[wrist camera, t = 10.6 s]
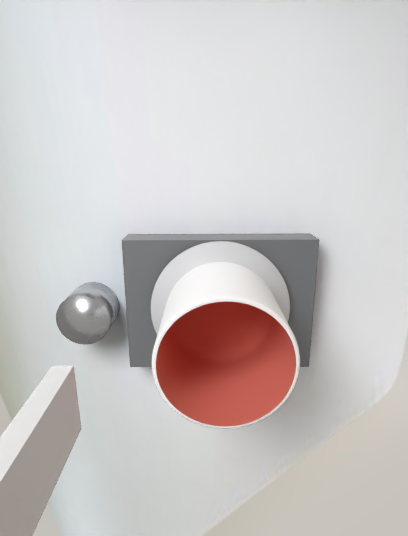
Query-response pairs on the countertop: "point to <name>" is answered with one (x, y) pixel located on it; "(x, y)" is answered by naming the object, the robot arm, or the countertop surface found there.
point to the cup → (224, 348)
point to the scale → (208, 251)
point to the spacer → (87, 313)
